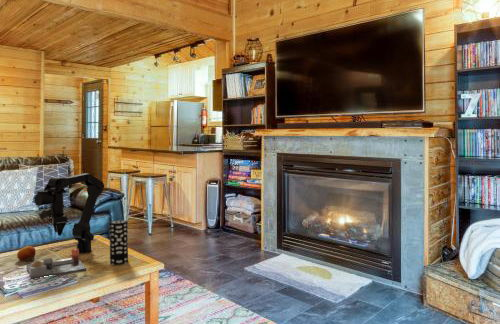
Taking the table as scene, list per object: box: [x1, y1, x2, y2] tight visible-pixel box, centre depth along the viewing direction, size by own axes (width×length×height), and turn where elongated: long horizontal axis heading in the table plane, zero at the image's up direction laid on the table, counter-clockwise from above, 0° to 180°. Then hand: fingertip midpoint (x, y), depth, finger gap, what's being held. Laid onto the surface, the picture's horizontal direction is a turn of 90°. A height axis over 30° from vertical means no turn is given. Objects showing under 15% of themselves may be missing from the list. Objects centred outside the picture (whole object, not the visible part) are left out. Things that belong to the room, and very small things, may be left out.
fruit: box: [16, 245, 37, 262], centre depth 195 cm, size 8×8×8 cm
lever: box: [32, 248, 80, 267], centre depth 184 cm, size 20×4×6 cm, turn 129°
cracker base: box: [26, 257, 87, 280], centre depth 182 cm, size 22×22×4 cm
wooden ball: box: [31, 260, 44, 267], centre depth 173 cm, size 5×5×5 cm
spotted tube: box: [109, 219, 129, 266], centre depth 191 cm, size 8×8×20 cm
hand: (57, 233), depth 195 cm, fingers open, 9 cm apart
